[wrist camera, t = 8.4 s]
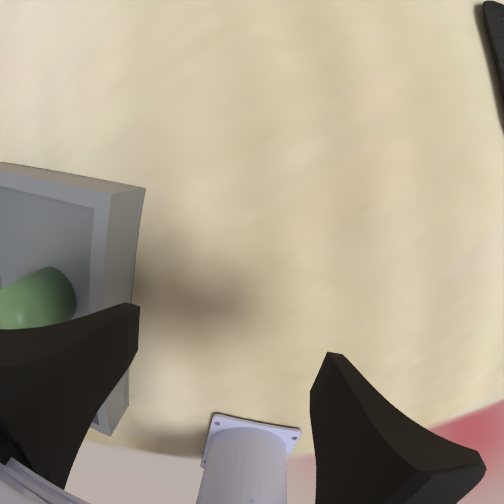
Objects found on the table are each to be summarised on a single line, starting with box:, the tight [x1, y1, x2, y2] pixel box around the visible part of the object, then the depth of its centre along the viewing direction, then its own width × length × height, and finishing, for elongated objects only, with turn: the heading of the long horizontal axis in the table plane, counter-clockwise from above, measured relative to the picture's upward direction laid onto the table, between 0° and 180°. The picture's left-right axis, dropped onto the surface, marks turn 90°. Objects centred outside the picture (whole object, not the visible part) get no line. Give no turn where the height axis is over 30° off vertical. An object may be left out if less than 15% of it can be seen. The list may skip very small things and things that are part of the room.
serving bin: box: [0, 162, 146, 436], centre depth 19 cm, size 20×16×4 cm
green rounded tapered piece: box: [0, 267, 77, 329], centre depth 18 cm, size 5×5×6 cm
